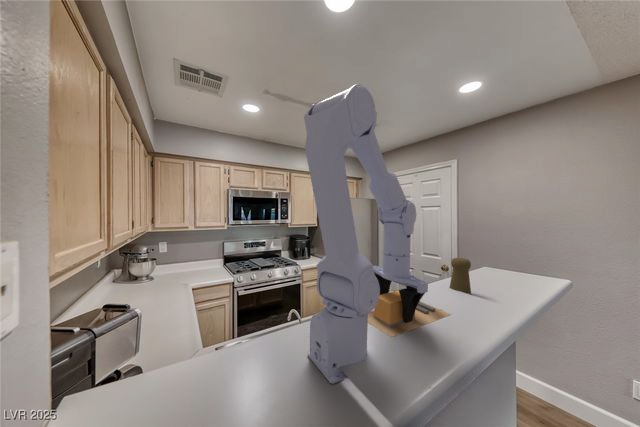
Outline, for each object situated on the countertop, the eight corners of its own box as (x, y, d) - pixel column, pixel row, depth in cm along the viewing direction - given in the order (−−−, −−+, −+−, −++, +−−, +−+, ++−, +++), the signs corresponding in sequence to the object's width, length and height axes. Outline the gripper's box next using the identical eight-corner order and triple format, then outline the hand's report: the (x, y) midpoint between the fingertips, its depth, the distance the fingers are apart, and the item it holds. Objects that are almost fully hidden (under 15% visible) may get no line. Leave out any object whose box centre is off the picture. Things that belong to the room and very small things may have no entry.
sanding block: (389, 327, 48) (390, 303, 48) (374, 318, 52) (374, 296, 51) (414, 318, 52) (415, 296, 52) (398, 310, 56) (399, 290, 55)
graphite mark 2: (431, 312, 55) (432, 309, 55) (417, 305, 59) (417, 303, 59) (435, 310, 56) (435, 308, 56) (420, 304, 59) (420, 302, 59)
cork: (475, 297, 68) (476, 261, 68) (452, 296, 70) (453, 259, 69) (466, 290, 74) (467, 256, 74) (446, 289, 76) (447, 255, 75)
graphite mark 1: (425, 314, 54) (425, 311, 54) (411, 307, 57) (411, 305, 57) (428, 313, 55) (428, 310, 55) (414, 306, 58) (414, 304, 58)
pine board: (390, 345, 44) (391, 337, 44) (357, 321, 53) (357, 315, 53) (451, 320, 54) (451, 314, 54) (414, 304, 63) (415, 299, 63)
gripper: (438, 258, 47) (435, 324, 47) (385, 247, 60) (383, 299, 60) (415, 262, 43) (413, 333, 44) (364, 249, 56) (362, 304, 56)
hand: (394, 314), depth 52 cm, fingers open, 6 cm apart
